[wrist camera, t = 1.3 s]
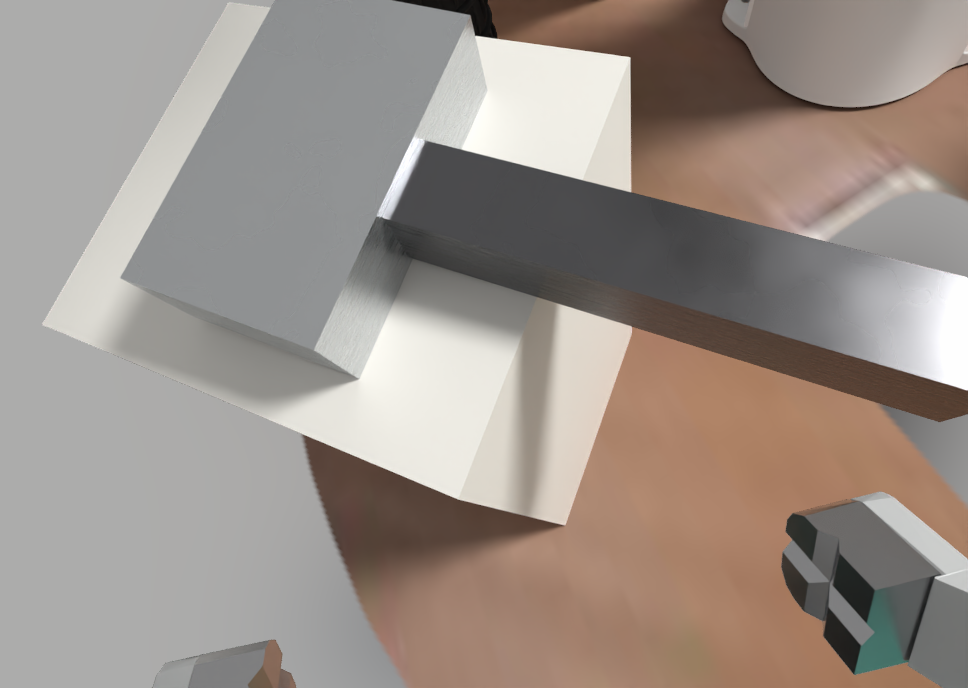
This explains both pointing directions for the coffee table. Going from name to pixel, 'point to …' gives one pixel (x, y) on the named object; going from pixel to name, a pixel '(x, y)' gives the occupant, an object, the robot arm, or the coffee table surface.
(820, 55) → the robot arm
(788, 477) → the coffee table surface
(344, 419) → the plinth
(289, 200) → the hammer
